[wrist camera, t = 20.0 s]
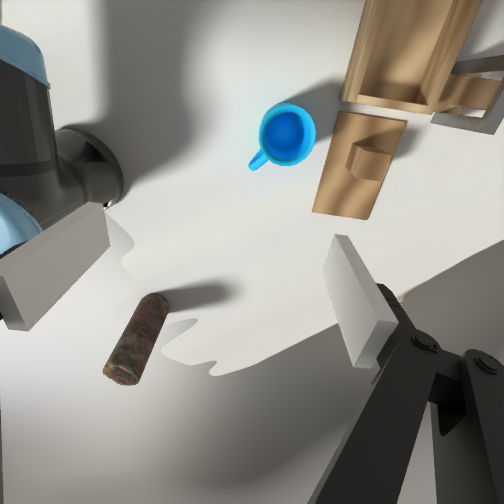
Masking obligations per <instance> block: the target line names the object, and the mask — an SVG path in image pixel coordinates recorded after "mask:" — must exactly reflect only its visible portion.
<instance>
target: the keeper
mask: <svg viewBox="0 0 504 504" xmlns="http://www.w3.org/2000/svg"><path fill="white" fill-rule="evenodd" d="M452 74H455V75H461V76H467V77H468V76H482V75H496V74H504V55H500V56H494V57H487V58H481V59H474V60H467V61H461V62H457V64H456V66H455V68H454V71H453V73H452ZM503 118H504V78H503V79H502V81H501V83H500V85H499V87H498V89H497V91H496V93H495V94H494V96H493V98H492V100H491V102H490V104H489V106H488V108H487V109H486V111H485V113H484V115H483V117H482V118H479V117H471V116H463V115H455V114H447V113H439V112H435V113H434V116H433V118H432V120H431V122H430V123H433V124H438V125H443V126H448V127H453V128H459V129H464V130H469V131H474V132H479V133H485V134H491V135H494V134H495V132H496V130H497V128H498V127H499V125H500V123H501V121H502V120H503Z"/></svg>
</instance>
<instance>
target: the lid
mask: <svg viewBox="0 0 504 504" xmlns="http://www.w3.org/2000/svg"><path fill="white" fill-rule="evenodd" d="M405 124H406V122H402V121H396V120H390V119H384V118H377V117H371V116H365V115H359V114H353V113H346V112H340V111H339V114H338V118H337V121H336V125H335V129H334V132H333V136H332V139H331V143H330V147H329V150H328V154H327V158H326V161H325V165H324V168H323V172H322V176H321V179H320V183H319V187H318V190H317V194H316V197H315V201H314V205H313V208H312V212H315V213H322V214H328V215H335V216H342V217H349V218H355V219H362V220H367V219H368V216H369V214H370V211H371V209H372V206H373V204H374V201H375V199H376V196H377V194H378V191H379V189H380V186H381V184H382V181H383V179H384V176H385V174H386V171H387V169H388V166H389V164H390V161H391V159H392V157H393V154H394V152H395V149H396V147H397V144H398V142H399V139H400V137H401V134H402V132H403V129H404V127H405Z"/></svg>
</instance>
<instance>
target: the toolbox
mask: <svg viewBox="0 0 504 504" xmlns="http://www.w3.org/2000/svg"><path fill="white" fill-rule="evenodd" d="M481 2H482V0H366V2H365V6H364V9H363V13H362V17H361V21H360V24H359V28H358V32H357V36H356V39H355V43H354V47H353V50H352V54H351V58H350V62H349V65H348V69H347V73H346V77H345V80H344V84H343V88H342V91H341V95H340V99H339V100H340V101H346V102H352V103H359V104H365V105H371V106H377V107H384V108H390V109H396V110H402V111H409V112H415V113H422V114H429V115H432V114H433V112H439V113H447V114H455V115H460V114H461V112H462V110H463V108H464V107H462V106H456V105H451V103H452V101H453V99H454V97H455V94H456V92H457V90H458V88H459V86H460V84H461V82H462V79H463V78H473V77H467V76H461V75H455V74H450V73H451V70H452V68H453V66H454V64H455V61H456V59H457V57H458V55H459V52H460V50H461V48H462V45H463V43H464V41H465V39H466V36H467V34H468V32H469V30H470V27H471V25H472V23H473V20H474V18H475V16H476V14H477V11H478V9H479V7H480V5H481Z"/></svg>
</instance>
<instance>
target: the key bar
mask: <svg viewBox="0 0 504 504" xmlns="http://www.w3.org/2000/svg"><path fill="white" fill-rule="evenodd" d="M500 83H501V81H498V80H492V79H486V78H480V77H476V78H463V79H462V82H461V84H460V86H459V88H458V90H457V92H456V94H455V97H454V99H453V101H452V103H451V105H456V106H462V107H468V108H475V109H481V110H486V109H487V108H488V106H489V104H490V102H491V100H492V98H493V96H494V94H495V93H496V91H497V89H498V87H499V85H500Z"/></svg>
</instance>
